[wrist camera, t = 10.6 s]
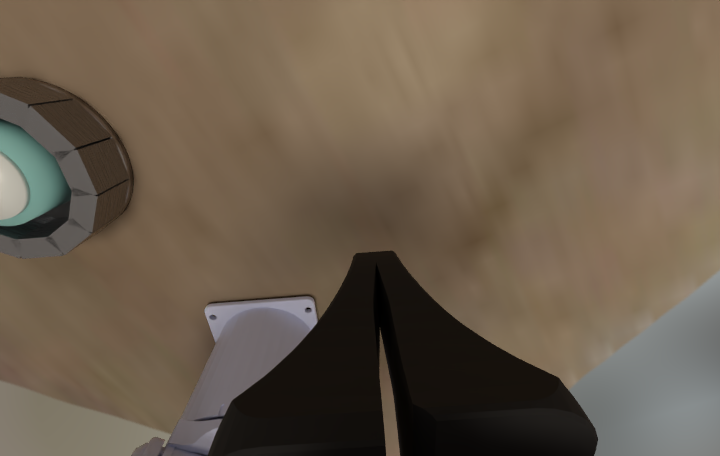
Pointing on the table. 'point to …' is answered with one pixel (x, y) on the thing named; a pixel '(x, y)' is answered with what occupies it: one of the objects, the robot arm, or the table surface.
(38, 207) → the cap
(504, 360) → the robot arm
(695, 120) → the table surface
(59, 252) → the faceted ring bowl
